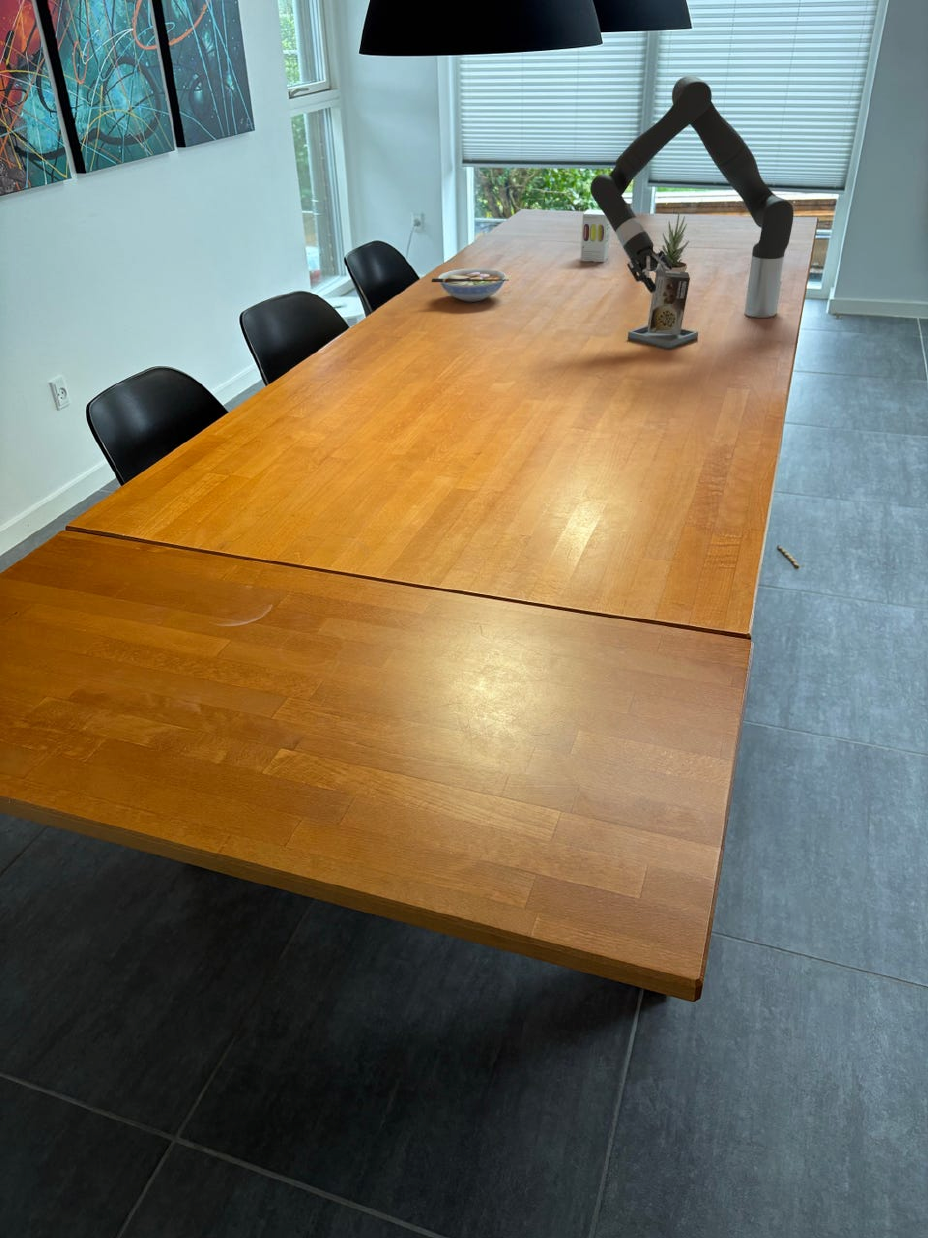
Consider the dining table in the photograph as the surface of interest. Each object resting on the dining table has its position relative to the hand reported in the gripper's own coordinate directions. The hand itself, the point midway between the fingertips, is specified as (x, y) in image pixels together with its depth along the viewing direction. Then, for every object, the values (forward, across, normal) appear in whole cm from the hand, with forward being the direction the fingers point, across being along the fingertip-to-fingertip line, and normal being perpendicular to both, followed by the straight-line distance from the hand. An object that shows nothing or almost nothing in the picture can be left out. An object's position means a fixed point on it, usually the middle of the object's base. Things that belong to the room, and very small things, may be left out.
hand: (663, 288), depth 264 cm
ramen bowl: (-41, -7, +62) cm, 75 cm away
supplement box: (-46, +62, +67) cm, 102 cm away
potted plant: (-13, +49, +34) cm, 61 cm away
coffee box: (+9, 0, +8) cm, 12 cm away
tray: (+11, 0, +9) cm, 14 cm away
